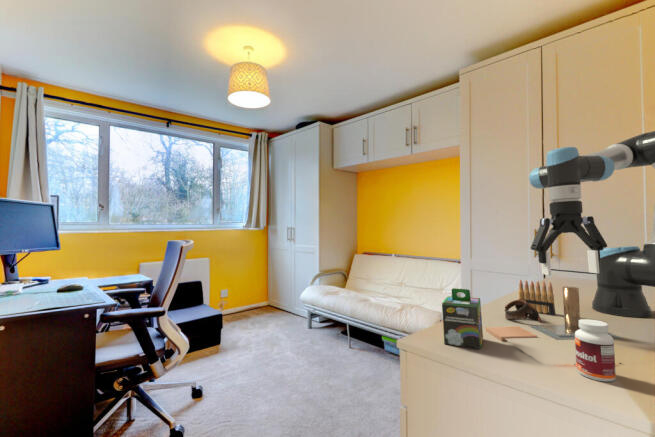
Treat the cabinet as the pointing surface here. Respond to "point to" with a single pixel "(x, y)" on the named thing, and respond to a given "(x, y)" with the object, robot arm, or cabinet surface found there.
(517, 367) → the cabinet surface
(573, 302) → the turner
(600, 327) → the pill bottle
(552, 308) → the ammunition clip
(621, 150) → the robot arm
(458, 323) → the chalk box
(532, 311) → the brown sandal
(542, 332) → the mat
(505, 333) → the tile
